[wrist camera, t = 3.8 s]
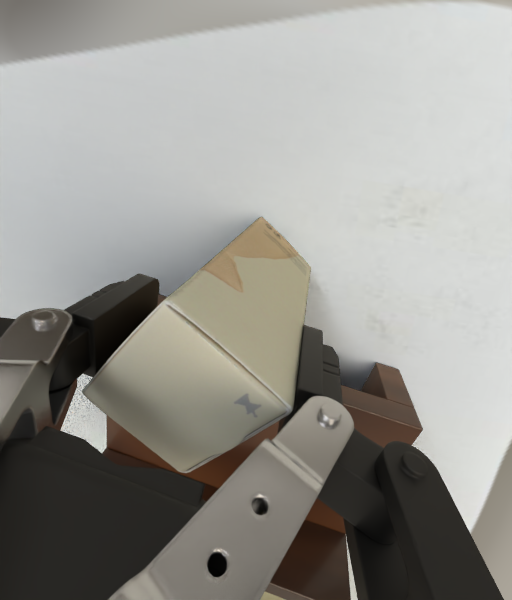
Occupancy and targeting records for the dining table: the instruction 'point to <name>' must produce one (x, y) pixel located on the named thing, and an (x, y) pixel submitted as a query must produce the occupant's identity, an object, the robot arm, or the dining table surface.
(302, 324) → the box
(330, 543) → the shelf
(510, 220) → the dining table surface
